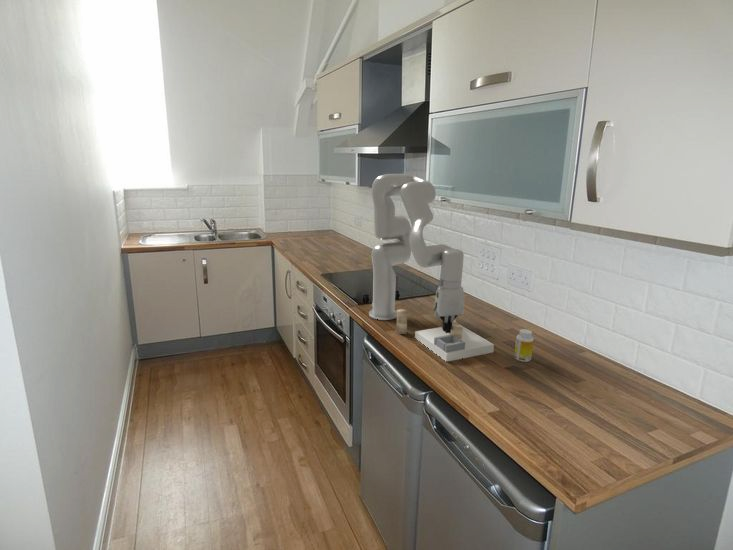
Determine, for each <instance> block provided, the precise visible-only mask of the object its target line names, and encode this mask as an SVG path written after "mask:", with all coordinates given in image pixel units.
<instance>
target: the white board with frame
mask: <svg viewBox="0 0 733 550" xmlns="http://www.w3.org/2000/svg"><path fill="white" fill-rule="evenodd" d="M458 324H459V325H460V326H461V327H462V328H463V329H462V338H457V337H456V336H454V335H450V334H449V333H446V332H444V331H443V329H442V326H439V327H433V328H428V329H420V330H415V331H414V339H415V338H416V339H417V340H418V341H417V340H416V339H415V340H416V341H417V342H419V341H420V342H421V343H422V344H421V343H420V342H419V343H420V344H421V345H423V344H424V345H425V346H426V347H425V346H424V345H423V346H424V347H425V348H427V347H428V348H429V349H428V348H427V349H428V350H429V351H431V350H432V351H433V352H432V351H431V352H432V353H434V354H435V355H436V354H437V355H436V356H438V357H439V356H440V357H441V358H440V357H439V358H440V359H442V360H443V361H444V360H445V362H446V361H447V362H452V361H458V360H462V358H463V359H466V358H467V359H468V358H472V357H473V358H474V357H478V356H481V355H487V354H492V353H494V352H495V351H494V350H495V344H494V343H492V342H490V341H488V340H487V339H486V338H484V337H482V336H480V335H479V334H477V333H475V332H473V331H471V330H470V329H468V328H466V327H465V326H463V325H461V324H460V323H458Z"/></svg>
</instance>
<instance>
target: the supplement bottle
mask: <svg viewBox="0 0 733 550" xmlns="http://www.w3.org/2000/svg"><path fill="white" fill-rule="evenodd" d="M534 341H535V340H534V337H533V332H532V331H531V330H529V329H526V328H523V329H519V333H518V334H517V335H516V339H515V348H514V354H513V355H514V358H515V360H516V361H519V362H524V363H527V362H530V361H531V360H532V356H533V355H532V354H533V348H534V347H533V346H534Z"/></svg>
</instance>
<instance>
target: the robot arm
mask: <svg viewBox="0 0 733 550" xmlns="http://www.w3.org/2000/svg"><path fill="white" fill-rule="evenodd" d="M436 191H437V190H436V188H435V186H434V184H432V183H431V182H430V181H429V180H427V179H424V178H421V177H420V176H419V177H418V176H416V175H415V174H411V173H385V174H382V175H378V176H377V177H376V178H375V179H374V180H373V182H372V185H371V196H372V201H373V211H374V212H373V216H374V217H373V220H374V221H373V222H374V225H373V227H374V235H375V237H376V238H377V240H381V241H389V240H394V241H393V242H391V241H390V242H384V243H379V244H376V245H375V246H374V247H373V248H372V250H371V256H370V257H371V262H372V272H373V273H372V274H373V278H372V279H373V280H372V281H373V282H372V288H373V289H372V303H371V306H372V309H371V310H369V311H368V315H369V317H370V318H372V319H374V320H377V319H378V321H392V320H394V319H397V310H395V309H396V307H395V306H396V288H397V287H396V284H397V282H396V281H397V279H396V278H397V277H396V272H395V270H394V268H393V266H395V265H400V264H405V263H407V262H409V260H410V258H411V254H412V256H413V258H414V261H415V262H416V263H417V265H418V266H419V267H421V268H433V267H436V266H437V267H438V266H439V267H440V276H439V281H436V285H437V289H436V292H435V298H434V305H433V311H434V314H433V317H434V318H435V319H440V320H441V321H442V326H441V327H442V329H443V331H444V332H446V333H451V329H452V322H454V319H456V318H458V317H460V316H462V315H463V313H464V311H465V294H464V293H465V291H464V287H463V286H462V281H463V280H462V279H463V269H464V268H463V267H464V257H465V256H464V255H465V254H464V251H462V249H459V248H452V247H451V246H449V245H446V244H435V245H434V244H433V245H426V242H425V239H424V236H423V235H424V234H423V232H424V227H426V226H428V225H429V224H430V223H431V222H432V221H433V219H434V214H433V212H432V209H431V207H430V203H432V202H433V201H435V199H436V196H437V195H436V194H437V192H436ZM392 196H393V197H394V196H398V197H400V198H401V201H402V203H403V206H404V208H405V210H406V213H407V215H408V218H409V219H408V218H407V217H406V216H402V215H396V206H395V203H394V201H393V199H392V198H391V197H392ZM409 220H410V221H409Z"/></svg>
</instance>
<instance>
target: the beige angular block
mask: <svg viewBox="0 0 733 550" xmlns="http://www.w3.org/2000/svg"><path fill="white" fill-rule="evenodd" d="M455 319H456V318H455ZM455 319H454V322H452V329H451V333H449V334H450V335H454V336H456V337H457V338H462V329H463V328H462V327H461V326H462V325H461V324H460V323H459V322H457V321H456V320H455ZM459 324H460V325H461V326H460V325H459Z"/></svg>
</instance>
